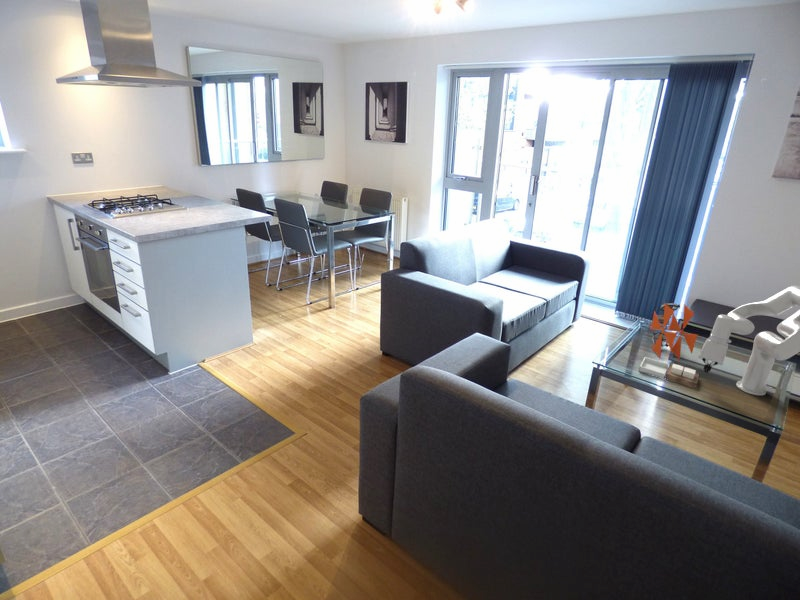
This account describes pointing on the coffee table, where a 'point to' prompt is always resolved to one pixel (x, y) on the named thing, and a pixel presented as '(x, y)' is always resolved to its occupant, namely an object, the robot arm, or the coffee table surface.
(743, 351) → the coffee table surface
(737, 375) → the coffee table surface
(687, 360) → the coffee table surface
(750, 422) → the coffee table surface
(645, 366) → the tray
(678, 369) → the tile far
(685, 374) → the cream rectangular block
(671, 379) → the brown wooden box
